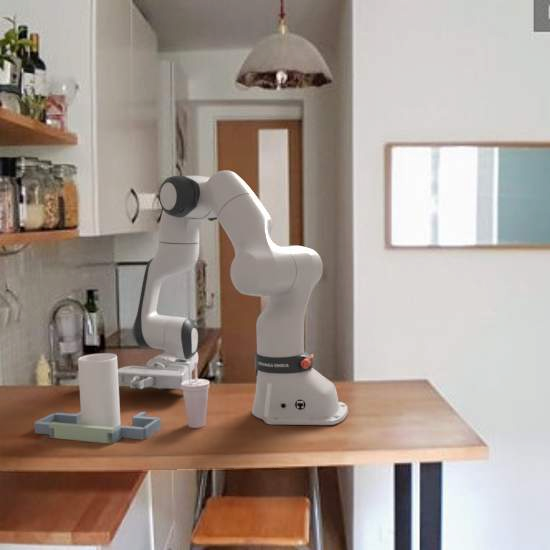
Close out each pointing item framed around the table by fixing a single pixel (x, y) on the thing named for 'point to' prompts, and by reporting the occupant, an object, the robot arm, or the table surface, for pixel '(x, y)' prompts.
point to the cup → (99, 390)
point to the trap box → (95, 428)
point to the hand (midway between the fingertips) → (135, 385)
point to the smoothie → (195, 400)
